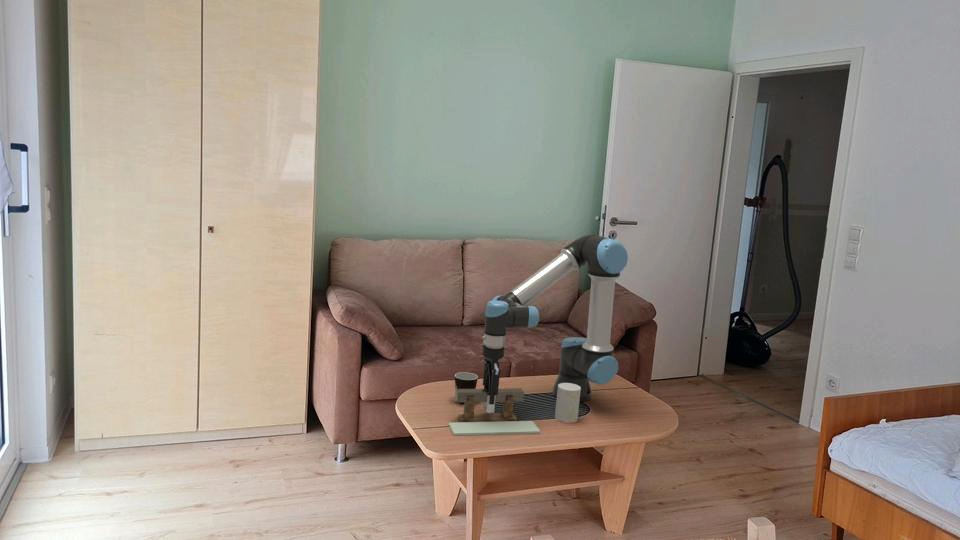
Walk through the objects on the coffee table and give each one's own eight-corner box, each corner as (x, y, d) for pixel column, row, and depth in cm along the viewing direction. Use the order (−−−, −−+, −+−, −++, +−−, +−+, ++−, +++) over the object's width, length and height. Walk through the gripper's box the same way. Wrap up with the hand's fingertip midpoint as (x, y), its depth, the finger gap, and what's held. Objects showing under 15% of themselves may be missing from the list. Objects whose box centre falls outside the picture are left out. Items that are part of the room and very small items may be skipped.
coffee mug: (473, 407, 266) (475, 381, 264) (450, 404, 267) (452, 378, 266) (479, 396, 277) (481, 371, 275) (457, 393, 279) (459, 368, 277)
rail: (520, 397, 260) (521, 388, 259) (523, 401, 256) (524, 391, 256) (454, 398, 254) (455, 389, 253) (456, 402, 250) (457, 392, 250)
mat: (532, 423, 256) (532, 420, 255) (540, 433, 247) (540, 431, 247) (448, 424, 248) (448, 422, 248) (453, 435, 240) (454, 433, 239)
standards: (512, 415, 261) (514, 391, 260) (517, 421, 256) (519, 397, 254) (458, 416, 256) (459, 391, 255) (461, 422, 251) (463, 397, 249)
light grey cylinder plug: (562, 424, 257) (566, 391, 255) (550, 415, 264) (553, 383, 262) (581, 421, 261) (585, 389, 259) (569, 413, 268) (572, 382, 266)
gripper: (477, 338, 258) (472, 401, 263) (489, 352, 242) (483, 419, 247) (497, 338, 260) (492, 400, 264) (511, 352, 244) (505, 418, 248)
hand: (488, 409), depth 256 cm, fingers open, 4 cm apart
